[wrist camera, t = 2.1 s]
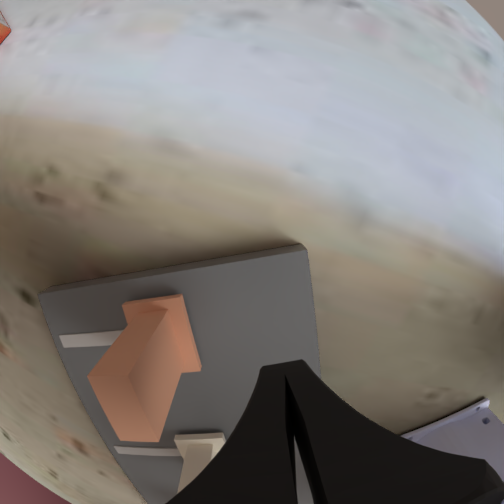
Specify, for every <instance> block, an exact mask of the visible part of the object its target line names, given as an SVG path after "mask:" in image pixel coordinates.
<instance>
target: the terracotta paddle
mask: <svg viewBox="0 0 504 504" xmlns="http://www.w3.org/2000/svg"><path fill="white" fill-rule="evenodd" d="M122 308H123V311H124V314H125V317H126V321H127V324H128V325H127V327H126V328H125V329H124V330H123V332H122V333H121V334H120V335H119V336H118V338H117V339H116V340H115V341H114V343H113V344H112V345H111V346H110V348H109V349H108V350H107V351H106V353H105V354H104V355H103V356H102V358H101V359H100V360H99V361H98V363H97V364H96V365H95V366H94V368H93V369H92V370H91V372H90V373H89V374H88V375H87V378H88V380H89V382H90V384H91V386H92V388H93V390H94V392H95V395H96V397H97V399H98V401H99V403H100V405H101V407H102V408H103V410H104V412H105V414H106V416H107V418H108V420H109V422H110V423H111V425H112V427H113V429H114V431H115V432H116V434H117V436H118V438H119V439H120V441H137V442H159V440H160V437H161V434H162V431H163V428H164V425H165V421H166V418H167V415H168V412H169V409H170V406H171V403H172V400H173V397H174V394H175V391H176V388H177V385H178V382H179V379H180V376H181V373H186V372H197V371H201V367H202V365H201V362H200V358H199V355H198V351H197V348H196V344H195V341H194V337H193V333H192V330H191V326H190V322H189V318H188V314H187V311H186V307H185V303H184V299H183V295H182V294H176V295H170V296H163V297H156V298H149V299H142V300H135V301H127V302H125V303H124V304H123V305H122Z"/></svg>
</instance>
